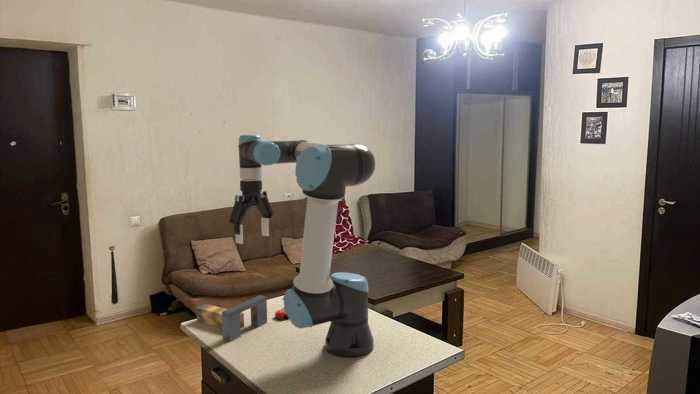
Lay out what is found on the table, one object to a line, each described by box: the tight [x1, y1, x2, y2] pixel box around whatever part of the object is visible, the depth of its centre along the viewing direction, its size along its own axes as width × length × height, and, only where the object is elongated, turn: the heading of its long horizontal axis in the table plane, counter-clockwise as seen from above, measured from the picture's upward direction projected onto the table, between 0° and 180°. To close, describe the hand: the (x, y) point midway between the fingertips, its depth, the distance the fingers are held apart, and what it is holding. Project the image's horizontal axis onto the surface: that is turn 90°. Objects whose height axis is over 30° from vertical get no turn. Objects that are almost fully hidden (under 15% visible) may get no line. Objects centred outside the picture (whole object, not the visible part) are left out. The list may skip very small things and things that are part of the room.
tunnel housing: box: [222, 294, 268, 342], centre depth 175 cm, size 3×18×10 cm, turn 149°
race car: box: [274, 306, 289, 321], centre depth 190 cm, size 13×5×4 cm, turn 128°
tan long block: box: [195, 303, 245, 330], centre depth 181 cm, size 18×5×5 cm, turn 59°
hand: (252, 239), depth 183 cm, fingers open, 13 cm apart
